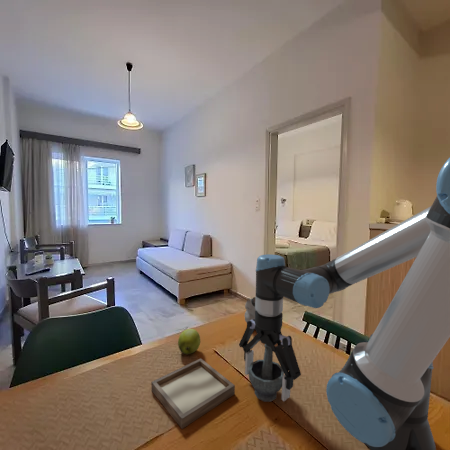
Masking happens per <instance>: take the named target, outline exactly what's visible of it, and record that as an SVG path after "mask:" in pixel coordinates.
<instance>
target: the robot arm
mask: <svg viewBox="0 0 450 450" xmlns="http://www.w3.org/2000/svg"><path fill="white" fill-rule="evenodd" d="M435 185H436V187H435V189H436V191H435V192H436V197H435V198H434V201H433V202H432V203H431V206H428V207H427V208H425V209H423V210H422V211H419V212H417V213H416V214H413V215H412V216H410V217H408V218H407V219H405V220H403V221H402V222H400V223H397V224H395V225H394V226H392V227H390V228H388V229H387V230H385V231H384V232H381V233H379V234H377V235H376V236H374V237H372V238H371V239H368V240H366V241H365V242H364V243H361V244H359V245H357V246H356V247H354V248H352V249H350V250H349V251H347V252H345V253H343V254H341V255H340V256H338V257H336V258H335V259H331V260H330V261H328V262H327V263H324V264H322V265H318V266H313V267H310V268H305V269H297V268H293V267H288V266H286V263H285V262H286V261H285V258H284V256H281V255H277V254H271V253H270V254H267V253H266V254H261V255H259V256H258V257H257V260H256V268H255V296H254V297H255V309H256V311H255V319H252V320H250V321H248V322H246V329H245V331H244V333H243V334H242V337H241V339H240V341H239V344H238V345H239V347H240V348H242V350H243V353H244V354H243V359H244V362H245V365H244V369H245V370H244V374H245V375H246V376H249V368H250V365H251V363H253V362H254V350H253V348H254V347H256V345H257V344H258V343H259V342H261V343H262V344H264V345H265V344H266V345H267V346H269V347H271V349H272V351H273V354H275V356H276V358H277V360H278V364H279V365H280V366H281V367H282V370H283V372H284V376H283V378H282V388H281V400H282V402H285V401H287V400H288V399H289V398H290V397H291V389H292V388H294V381H295V380H297V379H298V378H300V377H301V375H302V373H301V370H300V365H299V363H298V359H297V357H296V353H295V350H294V348H293V338H292V336H291V335H288V336H286V335H283V333H282V327H283V317H284V315H283V309H284V308H283V307H284V298H286V299H288V300H290V301H292V302H296V303H298V304H299V305H301V306H304V307H309V308H312V309H319V308H322V307H323V306H324V305H325V304H324V303H327V301H328V298H329V295H330V294H334V293H337V292H341V291H344V290H345V289H347V288H348V287H351V286H353V285H354V284H357V283H359V282H362V281H363V280H366V279H369V278H371V277H373V276H375V275H377V274H381V273H383V272H386V271H387V270H388V271H389V270H390V269H392V268H394V267H397V266H399V265H401V264H404V263H406V262H408V261H411V260H413V259H414V261H413V263H412V264H411V266H410V268H409V270H408V271H407V273H406V275H405V276H404V279H403V281H402V282H401V284H400V286H399V288H398V290H397V291H396V292H395V294H394V297H393V298H392V300H391V301H390V303H389V305H388V307H387V309H386V310H385V312H384V313H383V316H382V317H381V319H380V321H379V323H378V325H377V326H376V328H375V330H374V331H373V333H372V334H370V337H369V340H368V342H367V341H366V342H364V341H363V342H359V343H357V344H356V345H355V346H354V348H353V349H352V351H351V353H350V355H349V356H348V358H347V360H346V362H345V364H344V365H343V367H342V368H341V369H340V371H338V372H335V373H333V374H332V376H331V377H330V378H329V380H328V381H327V384H326V390H325V392H326V396H327V397H326V398H327V401H328V403H329V405H330V409H331V411H332V413H333V415H334V416H335V418H336V419H337V421H338V423H339V424H340V425H341V426H342V427H343V428H344V429H345V431H347V433H349V435H351V436H352V437H353V438H355V439H356V440H357V441H359V442H361V443H363V444H364V445H365V446H366V445H367V446H368V447H369V448H370V449H371V450H437V448H436V443H435V439H434V435H433V432H432V430H431V426H430V422H429V419H428V417H429V407H430V397H431V387H432V377H433V370H434V368H435V367H434V363H433V362H434V360H435V359H436V357H437V356H438V354H439V353H440V352H441V351H442V349H443V348H444V346H445V344H446V343H447V342H448V340H449V339H450V157H448V159H447V160H446V161H445V162H444V164H443V165H442V166H441V168H440V171H439V172H438V176H437V179H436V184H435ZM254 331H255V332H256V334H255V335H254V336H253V338H252V339H251V337H252V335H253V334H254V333H253V332H254ZM250 339H251V340H250ZM367 446H366V447H367ZM368 447H367V448H368ZM369 448H368V449H369ZM370 449H369V450H370Z"/></svg>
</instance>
